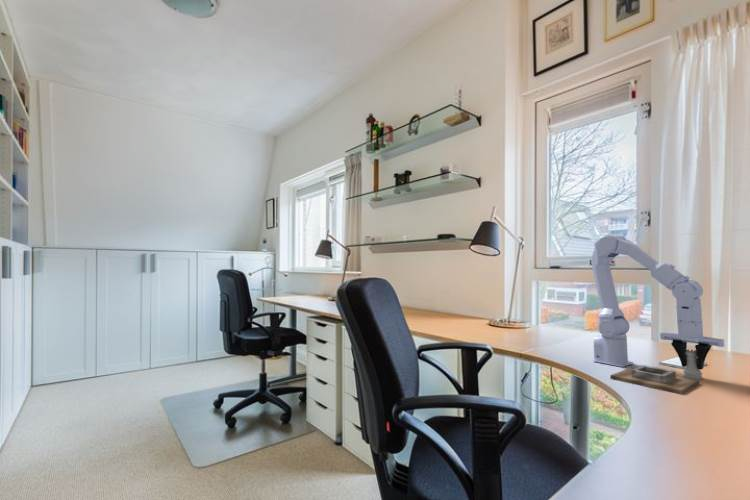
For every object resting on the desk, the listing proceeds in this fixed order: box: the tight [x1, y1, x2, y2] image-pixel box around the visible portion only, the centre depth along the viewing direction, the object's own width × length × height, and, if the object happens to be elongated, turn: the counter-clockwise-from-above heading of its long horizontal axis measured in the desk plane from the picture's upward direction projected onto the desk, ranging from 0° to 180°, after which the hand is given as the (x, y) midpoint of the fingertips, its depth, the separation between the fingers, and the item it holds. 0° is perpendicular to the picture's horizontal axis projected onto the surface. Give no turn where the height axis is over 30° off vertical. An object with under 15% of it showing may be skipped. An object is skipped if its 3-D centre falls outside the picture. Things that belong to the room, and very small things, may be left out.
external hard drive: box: [658, 356, 707, 371], centre depth 123 cm, size 2×8×12 cm
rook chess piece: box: [682, 349, 704, 380], centre depth 109 cm, size 4×4×8 cm
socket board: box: [609, 365, 701, 395], centre depth 107 cm, size 17×14×3 cm
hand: (692, 367), depth 109 cm, fingers closed on rook chess piece, 3 cm apart
